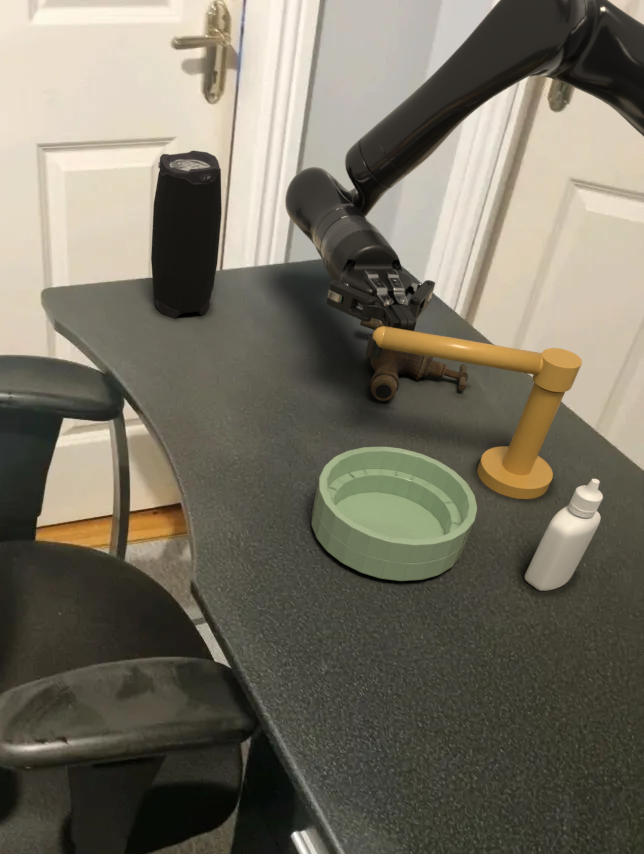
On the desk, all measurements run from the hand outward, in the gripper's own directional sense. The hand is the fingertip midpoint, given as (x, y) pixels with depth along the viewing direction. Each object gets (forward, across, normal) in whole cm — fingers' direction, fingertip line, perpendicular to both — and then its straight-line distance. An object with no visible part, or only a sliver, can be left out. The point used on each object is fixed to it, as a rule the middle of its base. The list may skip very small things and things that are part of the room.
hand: (406, 331), depth 90 cm
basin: (+16, -4, +14) cm, 22 cm away
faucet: (-15, +9, +14) cm, 22 cm away
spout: (+4, +6, +2) cm, 8 cm away
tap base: (+7, +14, +14) cm, 21 cm away
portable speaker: (-35, -18, +14) cm, 42 cm away
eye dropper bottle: (+24, +11, +14) cm, 30 cm away
